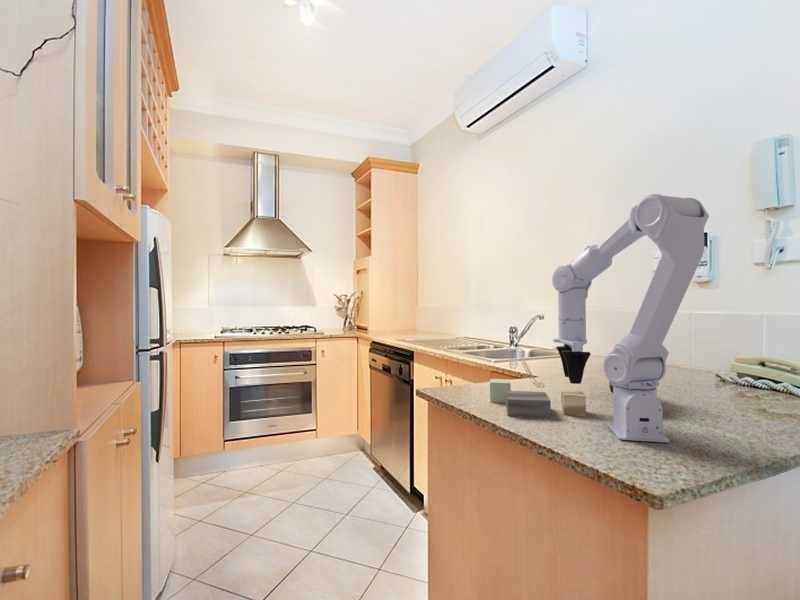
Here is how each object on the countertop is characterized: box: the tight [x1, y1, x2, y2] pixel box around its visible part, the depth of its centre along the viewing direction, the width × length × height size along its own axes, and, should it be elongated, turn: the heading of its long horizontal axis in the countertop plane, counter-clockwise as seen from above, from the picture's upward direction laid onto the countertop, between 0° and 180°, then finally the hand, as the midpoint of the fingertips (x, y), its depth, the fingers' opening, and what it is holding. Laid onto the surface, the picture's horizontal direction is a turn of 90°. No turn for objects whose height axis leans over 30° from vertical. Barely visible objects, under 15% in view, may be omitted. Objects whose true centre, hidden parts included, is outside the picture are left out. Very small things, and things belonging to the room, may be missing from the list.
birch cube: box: [560, 390, 587, 417], centre depth 94 cm, size 4×4×4 cm
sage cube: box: [489, 378, 512, 404], centre depth 107 cm, size 5×5×5 cm
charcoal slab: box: [505, 390, 552, 419], centre depth 95 cm, size 9×9×4 cm
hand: (572, 380), depth 94 cm, fingers open, 7 cm apart
